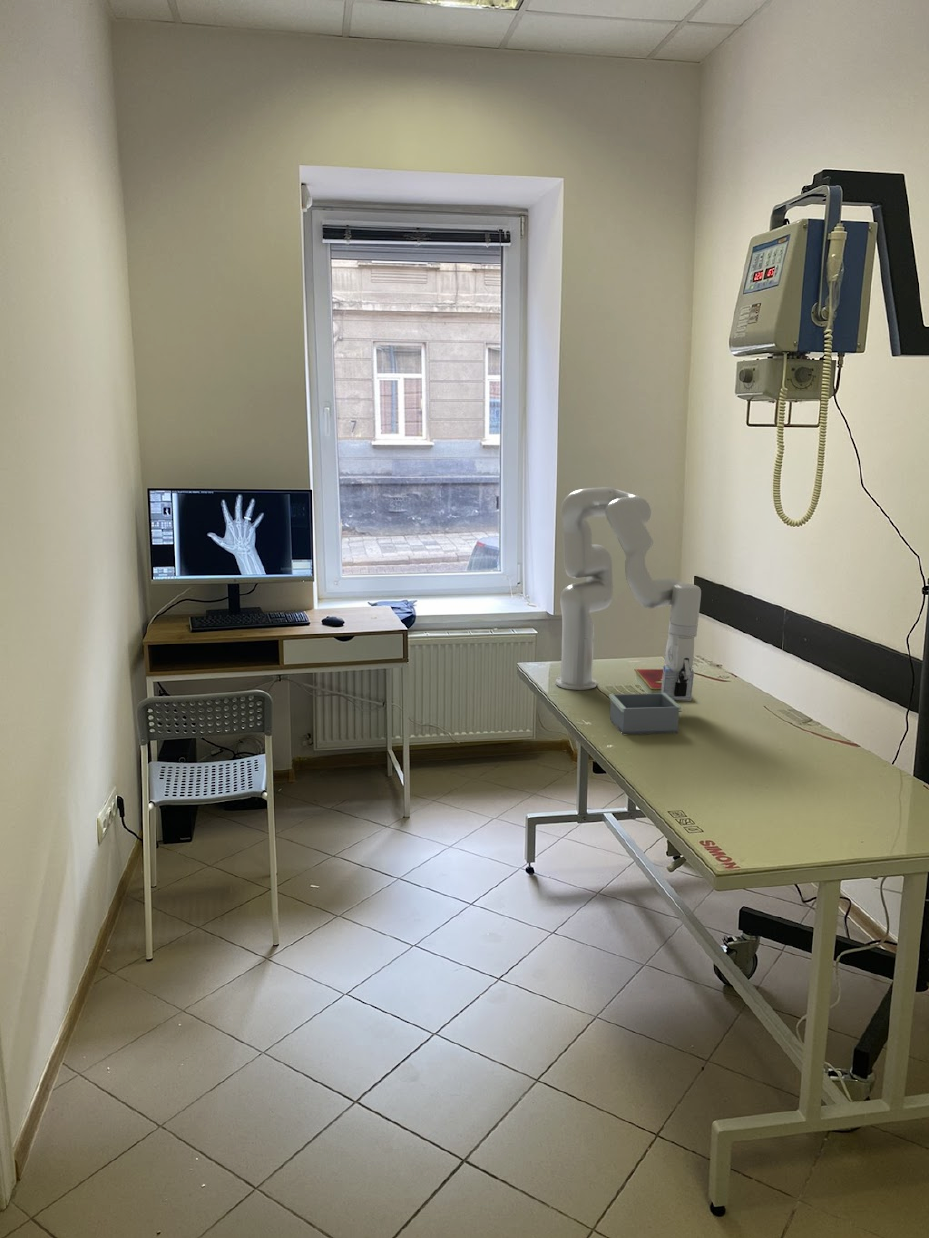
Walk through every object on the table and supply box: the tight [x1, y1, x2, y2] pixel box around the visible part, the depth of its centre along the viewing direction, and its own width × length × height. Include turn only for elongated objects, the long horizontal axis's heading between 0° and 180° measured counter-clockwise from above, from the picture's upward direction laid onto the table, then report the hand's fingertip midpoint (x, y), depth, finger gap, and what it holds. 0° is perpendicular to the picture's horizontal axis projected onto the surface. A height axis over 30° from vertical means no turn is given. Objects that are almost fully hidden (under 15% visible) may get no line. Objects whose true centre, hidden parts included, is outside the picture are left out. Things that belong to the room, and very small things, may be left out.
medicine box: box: [661, 664, 695, 701], centre depth 252 cm, size 8×4×9 cm, turn 85°
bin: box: [608, 693, 682, 735], centre depth 242 cm, size 13×16×7 cm
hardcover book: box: [634, 668, 663, 694], centre depth 275 cm, size 12×21×4 cm, turn 3°
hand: (676, 691), depth 253 cm, fingers closed on medicine box, 5 cm apart
